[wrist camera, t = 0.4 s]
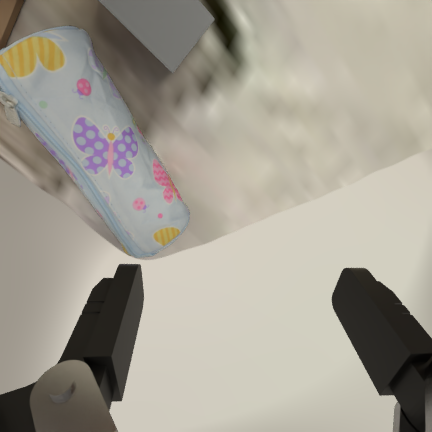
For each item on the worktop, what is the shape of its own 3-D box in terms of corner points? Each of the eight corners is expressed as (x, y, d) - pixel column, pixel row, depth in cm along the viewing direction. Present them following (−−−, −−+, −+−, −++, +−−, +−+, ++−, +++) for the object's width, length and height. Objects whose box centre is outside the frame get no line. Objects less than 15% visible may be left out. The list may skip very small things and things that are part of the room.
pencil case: (13, 56, 24) (-76, 74, 17) (91, 9, 22) (30, 6, 15) (138, 220, 36) (120, 275, 28) (196, 199, 34) (193, 251, 27)
